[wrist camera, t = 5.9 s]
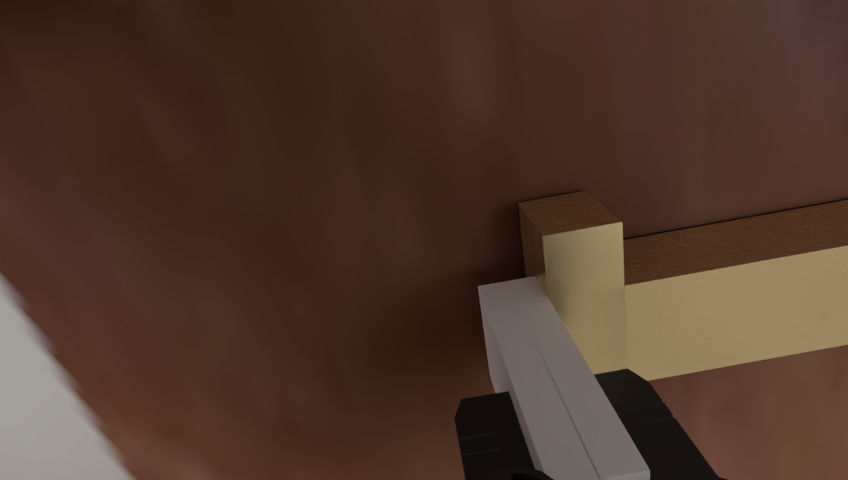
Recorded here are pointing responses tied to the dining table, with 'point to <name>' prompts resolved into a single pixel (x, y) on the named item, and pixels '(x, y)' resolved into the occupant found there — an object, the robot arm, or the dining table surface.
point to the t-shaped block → (690, 285)
